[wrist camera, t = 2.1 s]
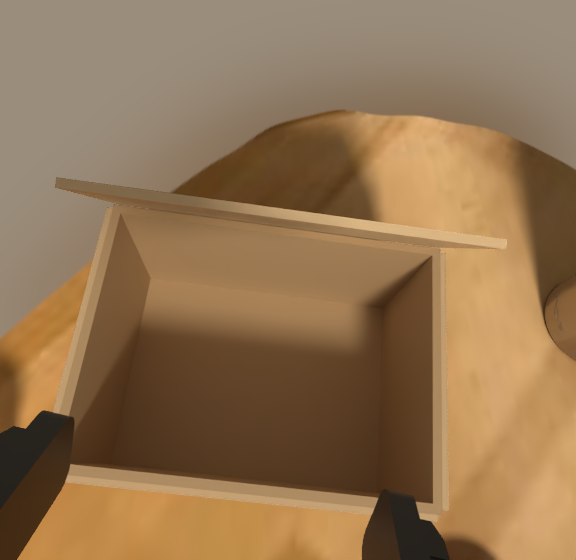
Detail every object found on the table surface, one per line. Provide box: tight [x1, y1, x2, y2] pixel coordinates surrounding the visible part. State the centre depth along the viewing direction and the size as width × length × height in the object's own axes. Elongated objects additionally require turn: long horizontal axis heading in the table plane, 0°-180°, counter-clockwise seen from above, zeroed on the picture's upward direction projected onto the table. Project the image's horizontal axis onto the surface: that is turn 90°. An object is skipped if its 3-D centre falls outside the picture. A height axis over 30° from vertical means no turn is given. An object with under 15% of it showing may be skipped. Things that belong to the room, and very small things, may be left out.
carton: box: [53, 204, 449, 522], centre depth 39 cm, size 25×18×14 cm
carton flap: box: [55, 178, 507, 249], centre depth 31 cm, size 23×11×1 cm
